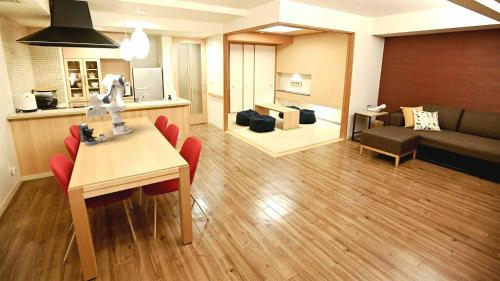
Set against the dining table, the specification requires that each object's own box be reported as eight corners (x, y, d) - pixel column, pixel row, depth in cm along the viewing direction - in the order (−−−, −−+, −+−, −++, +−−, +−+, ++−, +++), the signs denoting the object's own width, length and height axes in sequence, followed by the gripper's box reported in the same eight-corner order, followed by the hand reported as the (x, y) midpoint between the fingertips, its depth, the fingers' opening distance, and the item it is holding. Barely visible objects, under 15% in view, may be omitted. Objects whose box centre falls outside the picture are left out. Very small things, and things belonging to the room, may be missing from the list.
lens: (103, 140, 302) (102, 133, 300) (106, 141, 300) (105, 134, 297) (99, 141, 298) (98, 134, 296) (102, 142, 296) (101, 135, 293)
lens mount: (93, 142, 295) (92, 138, 294) (98, 143, 291) (97, 140, 290) (85, 144, 288) (84, 141, 287) (90, 145, 284) (89, 142, 282)
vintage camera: (92, 143, 295) (90, 125, 289) (80, 141, 298) (78, 124, 292) (99, 140, 304) (96, 123, 298) (87, 139, 307) (84, 122, 301)
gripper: (104, 106, 298) (106, 118, 302) (84, 108, 283) (86, 121, 287) (106, 106, 294) (108, 119, 298) (86, 108, 279) (88, 121, 283)
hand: (97, 120), depth 292 cm, fingers open, 8 cm apart
